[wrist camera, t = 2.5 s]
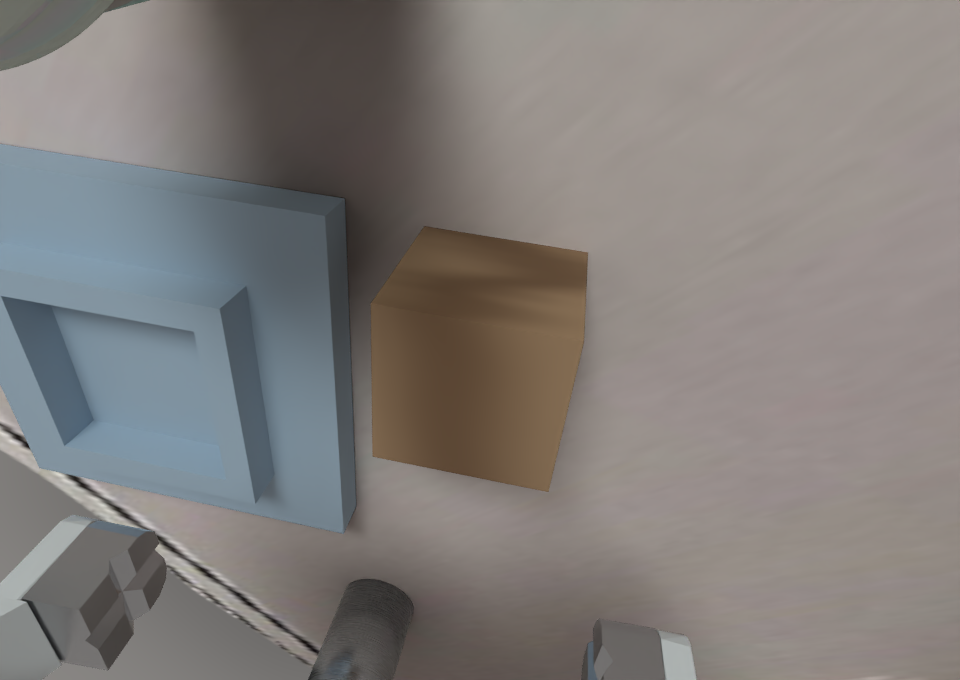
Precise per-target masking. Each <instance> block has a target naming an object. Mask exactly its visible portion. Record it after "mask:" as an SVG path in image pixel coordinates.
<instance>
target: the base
mask: <svg viewBox="0 0 960 680" xmlns="http://www.w3.org/2000/svg"><path fill="white" fill-rule="evenodd" d="M0 385H1V387H2V389H3V391H4V393H5V396H6V398H7V400H8V402H9V404H10V406H11V408H12V410H13V413H14V415H15V417H16V419H17V421H18V423H19V425H20V427H21V430H22V432H23V434H24V436H25V438H26V440H27V442H28V444H29V446H30V449H31V451H32V453H33V455H34V457H35V459H36V461H37V463H38V466H39V468H42V469H47V470H51V471H56V472H60V473H65V474H70V475H74V476H79V477H84V478H88V479H93V480H97V481H102V482H107V483H111V484H116V485H121V486H125V487H130V488H134V489H139V490H144V491H148V492H153V493H158V494H162V495H167V496H171V497H176V498H181V499H185V500H190V501H195V502H199V503H204V504H208V505H213V506H218V507H222V508H227V509H232V510H236V511H241V512H245V513H250V514H255V515H259V516H264V517H269V518H273V519H278V520H282V521H287V522H292V523H296V524H301V525H306V526H310V527H315V528H319V529H324V530H329V531H333V532H338V533H343V534H344V532H345V530H346V527H347V525H348V523H349V521H350V519H351V517H352V514H353V512H354V510H355V508H356V484H355V457H354V430H353V404H352V377H351V351H350V324H349V297H348V271H347V244H346V218H345V199H344V198H338V197H332V196H325V195H319V194H313V193H306V192H300V191H294V190H287V189H281V188H275V187H269V186H262V185H256V184H250V183H243V182H237V181H231V180H224V179H218V178H212V177H205V176H199V175H193V174H186V173H180V172H174V171H167V170H161V169H155V168H149V167H142V166H136V165H130V164H123V163H117V162H111V161H104V160H98V159H92V158H85V157H79V156H73V155H66V154H60V153H54V152H47V151H41V150H35V149H29V148H22V147H16V146H10V145H3V144H0Z"/></svg>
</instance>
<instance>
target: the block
mask: <svg viewBox="0 0 960 680" xmlns="http://www.w3.org/2000/svg"><path fill="white" fill-rule="evenodd" d="M587 260H588V253H587V252H581V251H575V250H569V249H562V248H556V247H550V246H544V245H538V244H531V243H525V242H519V241H513V240H507V239H500V238H494V237H488V236H482V235H476V234H469V233H463V232H457V231H451V230H445V229H438V228H432V227H426V226H424V228H423V229H422V230H421V232H420V233H419V235H418V236H417V238H416V239H415V241H414V242H413V243H412V245H411V246H410V248H409V249H408V251H407V252H406V254H405V255H404V256H403V258H402V259H401V261H400V262H399V264H398V265H397V266H396V268H395V269H394V271H393V272H392V274H391V275H390V277H389V278H388V279H387V281H386V282H385V284H384V285H383V287H382V288H381V290H380V291H379V292H378V294H377V295H376V297H375V298H374V300H373V301H372V302H371V366H372V444H373V457H377V458H382V459H387V460H392V461H397V462H402V463H407V464H412V465H417V466H422V467H427V468H432V469H437V470H442V471H447V472H452V473H457V474H462V475H467V476H472V477H477V478H482V479H486V480H491V481H496V482H501V483H506V484H511V485H516V486H521V487H526V488H531V489H536V490H541V491H546V492H548V491H549V487H550V482H551V478H552V474H553V470H554V466H555V461H556V457H557V453H558V449H559V445H560V440H561V436H562V432H563V428H564V423H565V419H566V415H567V411H568V407H569V402H570V398H571V394H572V390H573V386H574V381H575V377H576V373H577V369H578V364H579V360H580V356H581V352H582V348H583V343H584V330H585V307H586V284H587Z"/></svg>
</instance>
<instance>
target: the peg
mask: <svg viewBox="0 0 960 680" xmlns="http://www.w3.org/2000/svg"><path fill="white" fill-rule="evenodd" d="M412 614H413V604H412V602H411V600H410V599H409V598H408V596H407V595H406V594H405V593H404V592H402V591H401V590H399V589H398V588H396V587H394V586H393V585H390V584H388V583H385V582H382V581H378V580H371V579H363V580H357V581H354V582H352V583H350V584H349V585H348V586H347V588H346V590H345V592H344V594H343V597H342V599H341V602H340V604H339V606H338V609H337V611H336V614H335V616H334V618H333V621H332V623H331V626H330V628H329V630H328V633H327V635H326V638H325V640H324V642H323V645H322V647H321V650H320V652H319V654H318V657H317V659H316V662H315V664H314V666H313V669H312V672H311V674H310V676H309V679H308V680H393V678H394V675H395V671H396V668H397V665H398V661H399V658H400V654H401V651H402V648H403V644H404V641H405V637H406V634H407V631H408V627H409V624H410V620H411V617H412Z"/></svg>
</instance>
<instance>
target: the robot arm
mask: <svg viewBox="0 0 960 680" xmlns="http://www.w3.org/2000/svg"><path fill="white" fill-rule="evenodd" d="M158 544H159V541H158V539H157V536H156V534H155V531H150V530H145V529H140V528H135V527H129V526H124V525H119V524H114V523H109V522H105V521H102V520H97V519H92V518H86V517H80V516H76V515H71V516H69V517H68V518H66V519H64V520H62V521H61V522H59V523H58V524H57V525H56V526H55V528H54V529H53V530H52V531H51V532H50V533H49V534H48V535H47V536H46V537H45V538H44V539H43V540H42V541H41V542H40V543H39V544H38V545H37V546H36V547H35V548H34V549H33V550H32V551H31V552H30V553H29V554H28V555H27V556H26V557H25V558H24V559H23V560H22V561H21V562H20V563H19V564H18V565H17V566H16V567H15V568H14V569H13V571H12V572H11V573H10V574H9V575H8V576H7V577H6V578H5V579H4V580H3V581H2V582H1V583H0V680H42V679H43V678H45V677H46V676H48V675H49V674H50V673H52V672H53V671H54V670H56V669H57V668H59V667H60V666H61V665H62V663H61V662H65V663H70V664H75V665H81V666H86V667H92V668H97V669H103V670H109V669H110V667H111V666H112V664H113V663H114V661H115V660H116V658H117V657H118V656H119V654H120V653H121V651H122V650H123V648H124V647H125V646H126V644H127V643H128V641H129V640H130V638H131V637H132V636H133V634H134V620H135V619H137V618H138V617H140V616H142V615H143V614H145V613H146V612H148V611H149V610H150V609H151V608H152V606H153V605H154V603H155V602H156V600H157V598H158V597H159V596H160V593H161V590H162V588H163V585H164V583H165V580H166V571H167V566H166V563H165V560H164V558H163V557H162V556H161V555H160V554H159V553H158V552H156V551H155V548H156V547H157V546H158ZM581 680H697V677H696V671H695V665H694V660H693V654H692V648H691V643H690V642H689V640H688V638H687V636H685V635H684V634H679V633H673V632H668V631H662V630H657V629H655V628H650V627H644V626H639V625H633V624H627V623H622V622H616V621H610V620H605V619H598V620H597V621H596V623H595V625H594V628H593V641H592V642H590V643H588V644H587V648H586V651H585V654H584V659H583V665H582V675H581Z"/></svg>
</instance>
